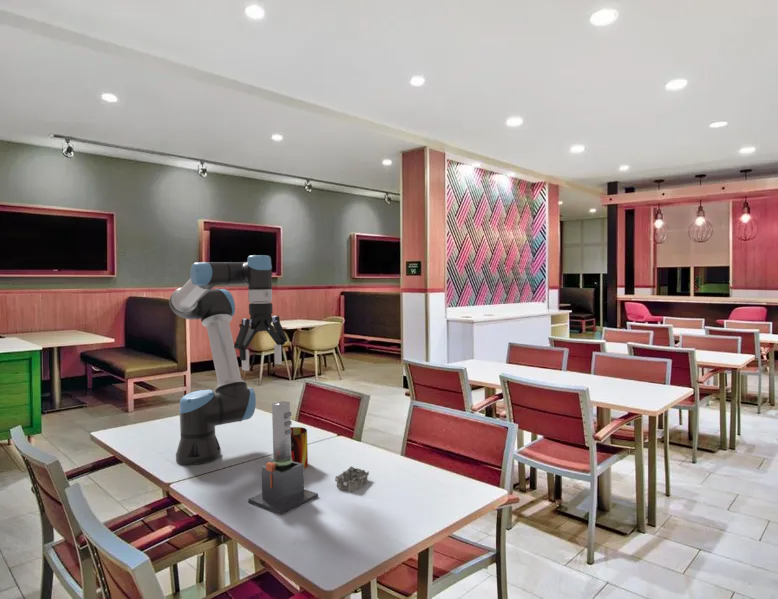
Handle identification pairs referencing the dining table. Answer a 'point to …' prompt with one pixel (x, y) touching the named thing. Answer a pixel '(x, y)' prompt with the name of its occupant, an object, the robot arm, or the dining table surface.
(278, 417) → the column
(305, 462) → the mug
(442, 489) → the dining table surface
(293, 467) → the stand
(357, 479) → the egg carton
